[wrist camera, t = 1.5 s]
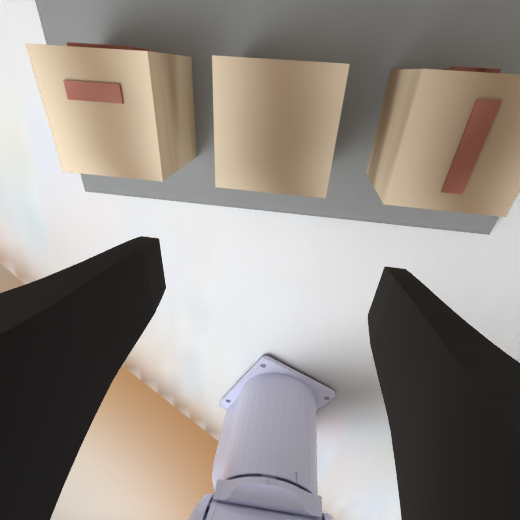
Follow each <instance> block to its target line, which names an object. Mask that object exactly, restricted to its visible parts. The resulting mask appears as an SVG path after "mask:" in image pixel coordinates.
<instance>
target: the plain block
mask: <svg viewBox="0 0 520 520" xmlns="http://www.w3.org/2000/svg"><path fill="white" fill-rule="evenodd" d="M349 65H350V64H345V63H329V62H312V61H296V60H280V59H263V58H247V57H231V56H214V55H212V73H213V113H214V153H215V187H218V188H228V189H238V190H247V191H257V192H267V193H277V194H287V195H297V196H306V197H316V198H326V194H327V188H328V183H329V177H330V171H331V166H332V160H333V155H334V149H335V143H336V138H337V132H338V127H339V121H340V115H341V110H342V104H343V99H344V93H345V88H346V82H347V76H348V71H349Z"/></svg>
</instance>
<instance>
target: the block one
mask: <svg viewBox="0 0 520 520" xmlns="http://www.w3.org/2000/svg"><path fill="white" fill-rule="evenodd" d="M500 71H501V69H492V68H475V67H459V66H456V67H451V68H448V69H443V70H437V69H397V70H390V74H389V79H388V83H387V87H386V91H385V95H384V99H383V103H382V108H381V112H380V116H379V120H378V124H377V128H376V132H375V137H374V141H373V145H372V149H371V153H370V157H369V161H368V166H367V170H366V174H367V176H368V177H369V179H370V181H371V183H372V185H373V186H374V188H375V190H376V192H377V194H378V195H379V197H380V199H381V201H382V203H383V204H384V205H393V206H403V207H412V208H422V209H432V210H442V211H452V212H462V213H472V214H481V215H491V216H501V217H506V215H507V214H508V212H509V210H510V208H511V206H512V204H513V202H514V200H515V198H516V197H517V195H518V193H519V191H520V75H518V74H502V73H500Z"/></svg>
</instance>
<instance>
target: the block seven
mask: <svg viewBox="0 0 520 520" xmlns="http://www.w3.org/2000/svg"><path fill="white" fill-rule="evenodd" d="M66 43H67V46H56V45H40V44H25V45H26V48H27V51H28V55H29V58H30V62H31V65H32V68H33V72H34V75H35V79H36V82H37V85H38V89H39V92H40V96H41V99H42V103H43V106H44V109H45V113H46V116H47V120H48V123H49V126H50V130H51V133H52V137H53V140H54V143H55V147H56V150H57V154H58V157H59V161H60V164H61V167H62V171H63V172H72V173H82V174H92V175H102V176H112V177H121V178H131V179H141V180H151V181H161V182H163V181H165V180H166V179H167V178H169V177H170V176H171V175H173V174H174V173H175V172H177V171H178V170H179V169H181V168H182V167H183V166H185V165H186V164H187V163H189V162H190V161H192V160H193V159H194V158H196V157H197V149H196V131H195V113H194V94H193V76H192V58H191V57H189V56H181V55H174V54H166V53H158V51H156V50H149V49H142V48H135V47H130V46H123V45H106V44H89V43H72V42H66Z"/></svg>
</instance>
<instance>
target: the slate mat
mask: <svg viewBox="0 0 520 520" xmlns="http://www.w3.org/2000/svg"><path fill="white" fill-rule="evenodd" d="M35 2H36V5H37V9H38V13H39V17H40V21H41V24H42V28H43V32H44V36H45V40H46V44H47V45H56V46H67V43H66V42H72V43H89V44H106V45H123V46H130V47H135V48H142V49H149V50H156V51H158V53H166V54H174V55H181V56H189V57H191V58H192V76H193V94H194V113H195V131H196V149H197V157H196V158H194V159H193V160H192V161H190V162H189V163H187V164H186V165H185V166H183V167H182V168H181V169H179V170H178V171H177V172H175V173H174V174H173V175H171V176H170V177H169V178H167V179H166V180H165V181H163V182H161V181H151V180H141V179H131V178H121V177H112V176H102V175H92V174H82V173H81V177H82V181H83V184H84V188H85V191H86V192H96V193H105V194H114V195H124V196H133V197H142V198H152V199H161V200H171V201H180V202H189V203H199V204H208V205H217V206H227V207H236V208H245V209H255V210H264V211H273V212H283V213H292V214H301V215H311V216H320V217H329V218H339V219H348V220H357V221H367V222H376V223H385V224H395V225H404V226H414V227H423V228H432V229H442V230H451V231H460V232H470V233H479V234H488V235H489V234H490V232H491V231H492V229H493V227H494V225H495V223H496V221H497V219H498V217H499V216H491V215H481V214H472V213H462V212H452V211H442V210H432V209H422V208H412V207H403V206H393V205H384V204H383V203H382V201H381V199H380V197H379V195H378V194H377V192H376V190H375V188H374V186H373V185H372V183H371V181H370V179H369V177H368V176H367V174H366V170H367V166H368V161H369V157H370V153H371V149H372V145H373V141H374V137H375V132H376V128H377V124H378V120H379V116H380V112H381V108H382V103H383V99H384V95H385V91H386V87H387V83H388V79H389V74H390V70H397V69H437V70H443V69H448V68H451V67H456V66H459V67H475V68H492V69H501V71H500V73H502V74H518V75H520V0H35ZM212 55H214V56H231V57H247V58H263V59H280V60H296V61H312V62H329V63H345V64H350V65H349V71H348V76H347V82H346V88H345V93H344V99H343V104H342V110H341V115H340V121H339V127H338V132H337V138H336V143H335V149H334V155H333V160H332V166H331V171H330V177H329V183H328V188H327V194H326V198H316V197H306V196H297V195H287V194H277V193H267V192H257V191H247V190H238V189H228V188H218V187H215V153H214V113H213V73H212Z"/></svg>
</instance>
